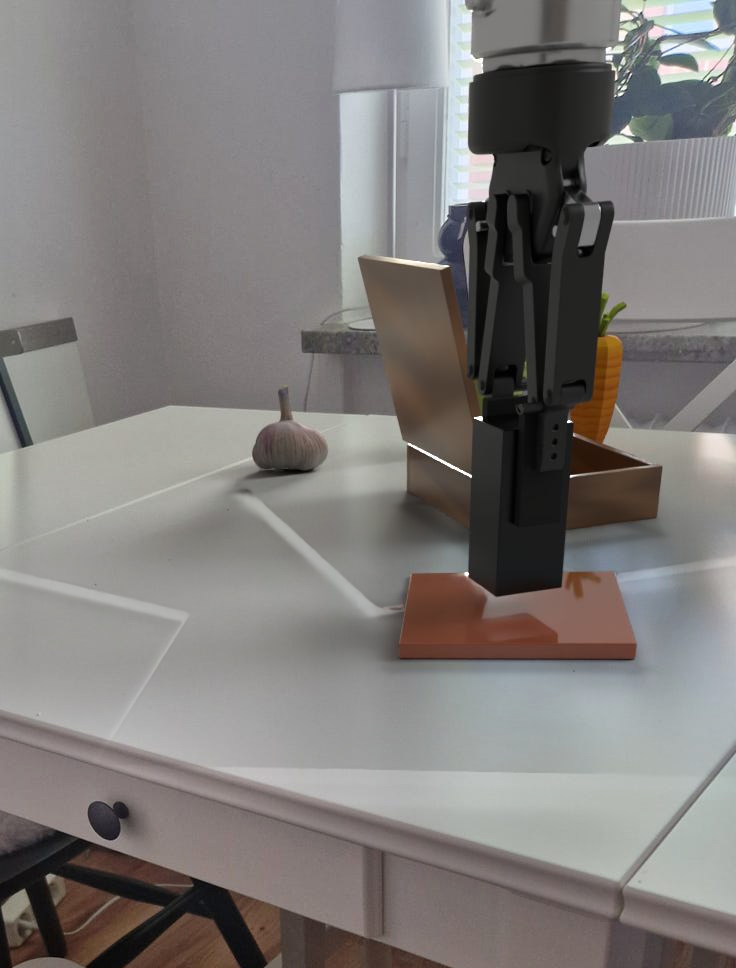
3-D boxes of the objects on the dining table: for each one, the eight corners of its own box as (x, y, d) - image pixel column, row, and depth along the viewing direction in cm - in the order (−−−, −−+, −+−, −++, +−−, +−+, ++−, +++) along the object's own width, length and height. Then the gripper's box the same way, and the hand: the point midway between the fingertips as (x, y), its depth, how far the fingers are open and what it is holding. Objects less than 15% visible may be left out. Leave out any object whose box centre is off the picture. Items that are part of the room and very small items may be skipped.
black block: (530, 568, 77) (540, 409, 72) (562, 588, 73) (574, 422, 68) (467, 577, 76) (472, 417, 71) (495, 597, 72) (503, 430, 67)
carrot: (572, 456, 115) (585, 288, 107) (621, 460, 112) (638, 288, 105) (552, 467, 111) (564, 294, 104) (602, 471, 109) (618, 294, 101)
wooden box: (553, 479, 107) (556, 426, 105) (656, 526, 92) (663, 465, 90) (406, 497, 105) (406, 443, 102) (487, 549, 90) (490, 487, 87)
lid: (366, 253, 94) (357, 257, 94) (450, 265, 79) (440, 270, 79) (410, 436, 102) (402, 440, 102) (495, 479, 87) (485, 483, 87)
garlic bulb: (239, 470, 119) (234, 387, 115) (296, 457, 122) (292, 376, 118) (284, 481, 113) (280, 394, 109) (342, 467, 117) (340, 383, 113)
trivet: (613, 585, 81) (614, 570, 80) (635, 659, 69) (637, 643, 68) (410, 586, 83) (410, 572, 83) (398, 658, 71) (398, 643, 71)
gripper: (414, 81, 67) (411, 489, 79) (552, 50, 53) (524, 558, 64) (533, 74, 69) (513, 477, 81) (701, 42, 54) (646, 541, 66)
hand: (518, 512), depth 73 cm, fingers closed on black block, 4 cm apart
